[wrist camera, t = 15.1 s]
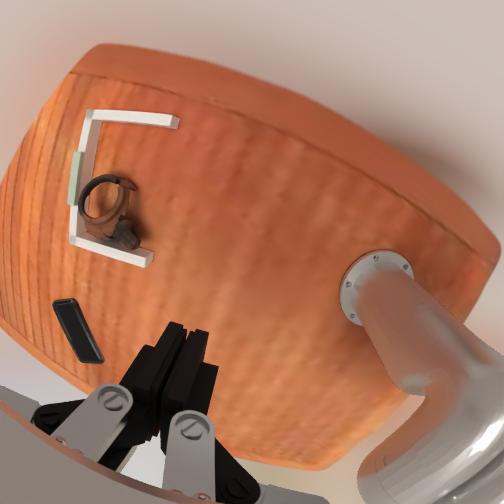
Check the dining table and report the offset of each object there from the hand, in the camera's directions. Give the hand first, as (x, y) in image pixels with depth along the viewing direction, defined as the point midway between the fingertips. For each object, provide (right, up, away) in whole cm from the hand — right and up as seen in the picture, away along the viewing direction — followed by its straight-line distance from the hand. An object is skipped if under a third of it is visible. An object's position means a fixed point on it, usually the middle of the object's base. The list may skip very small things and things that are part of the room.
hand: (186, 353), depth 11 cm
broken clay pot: (-16, +10, +27) cm, 33 cm away
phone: (-33, -12, +35) cm, 49 cm away
